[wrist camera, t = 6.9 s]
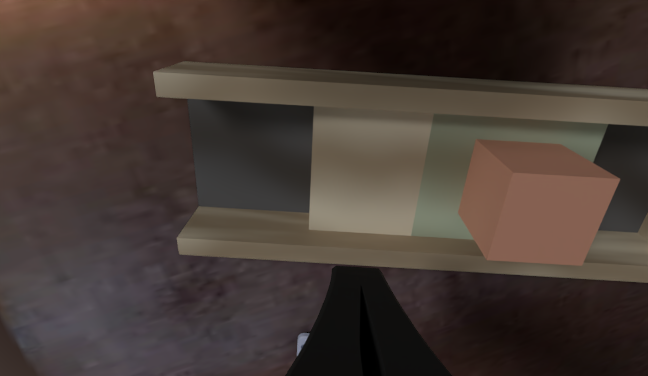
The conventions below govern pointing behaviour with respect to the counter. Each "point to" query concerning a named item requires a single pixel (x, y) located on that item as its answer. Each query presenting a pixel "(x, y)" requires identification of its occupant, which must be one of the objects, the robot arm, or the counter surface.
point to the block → (534, 202)
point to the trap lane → (391, 164)
